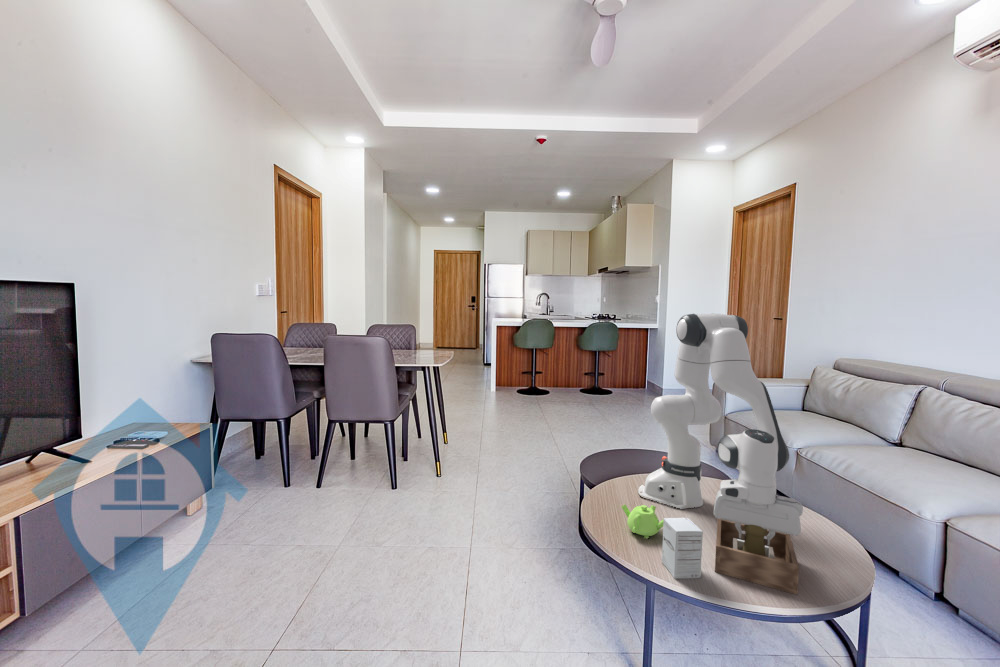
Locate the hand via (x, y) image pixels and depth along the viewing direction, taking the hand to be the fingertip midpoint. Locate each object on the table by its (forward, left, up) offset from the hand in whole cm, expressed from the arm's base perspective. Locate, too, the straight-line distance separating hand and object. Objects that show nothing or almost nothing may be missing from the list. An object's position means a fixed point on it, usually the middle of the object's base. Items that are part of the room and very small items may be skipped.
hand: (753, 541), depth 115 cm
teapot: (-29, +3, -7) cm, 30 cm away
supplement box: (-17, -13, -7) cm, 22 cm away
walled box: (0, 0, -7) cm, 7 cm away
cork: (0, 0, -6) cm, 6 cm away
